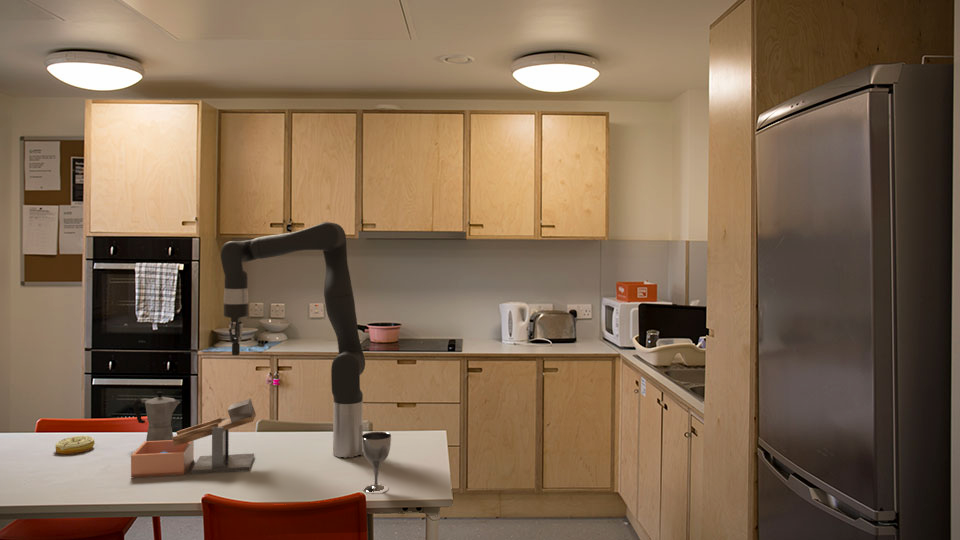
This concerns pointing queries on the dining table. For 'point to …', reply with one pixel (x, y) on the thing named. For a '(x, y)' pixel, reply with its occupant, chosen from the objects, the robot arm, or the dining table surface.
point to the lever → (218, 423)
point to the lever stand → (222, 456)
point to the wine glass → (376, 453)
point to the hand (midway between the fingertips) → (235, 354)
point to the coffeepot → (157, 416)
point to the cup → (161, 458)
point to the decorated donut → (74, 444)
